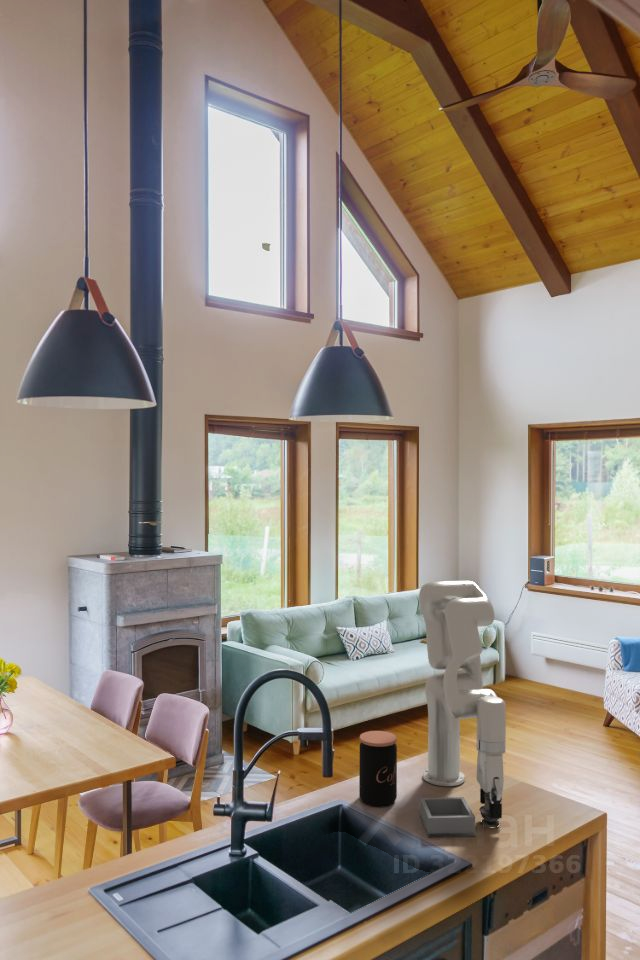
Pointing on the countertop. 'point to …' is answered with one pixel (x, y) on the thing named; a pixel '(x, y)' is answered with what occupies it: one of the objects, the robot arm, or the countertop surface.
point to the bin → (447, 817)
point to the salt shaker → (485, 813)
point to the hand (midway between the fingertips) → (490, 810)
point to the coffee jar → (378, 768)
